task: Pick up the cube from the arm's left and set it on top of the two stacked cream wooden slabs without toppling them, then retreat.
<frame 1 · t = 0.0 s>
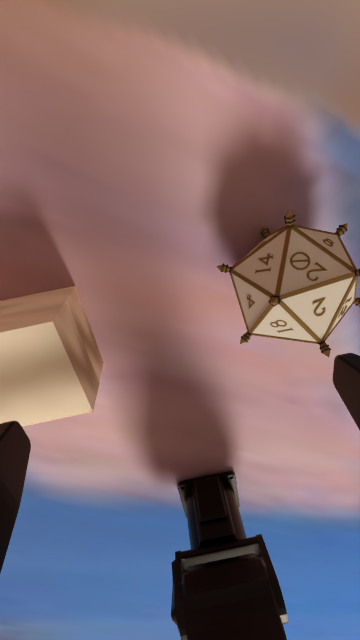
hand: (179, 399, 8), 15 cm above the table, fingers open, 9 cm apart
slab lower: (47, 333, 24), on the table, touching slab upper
game die: (268, 265, 23), on the table
slab upper: (35, 355, 21), point 3 cm above the table, touching slab lower
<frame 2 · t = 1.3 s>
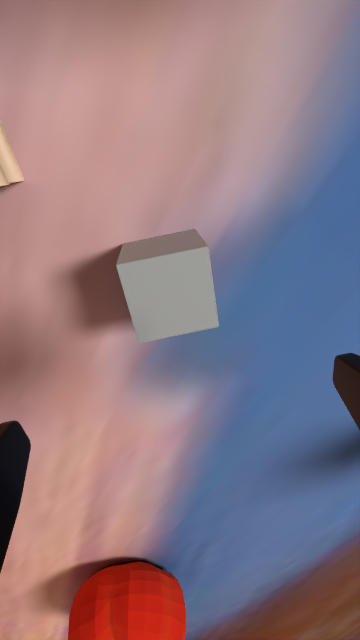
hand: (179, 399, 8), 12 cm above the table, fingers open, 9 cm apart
tomato: (130, 572, 37), on the table
cube: (166, 270, 19), on the table
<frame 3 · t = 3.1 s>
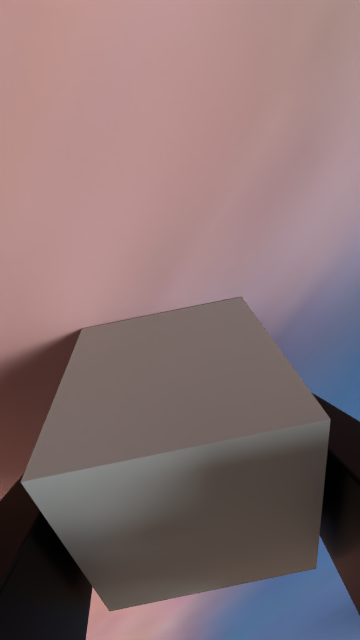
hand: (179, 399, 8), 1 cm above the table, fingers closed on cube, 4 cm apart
cube: (176, 376, 9), on the table, touching gripper
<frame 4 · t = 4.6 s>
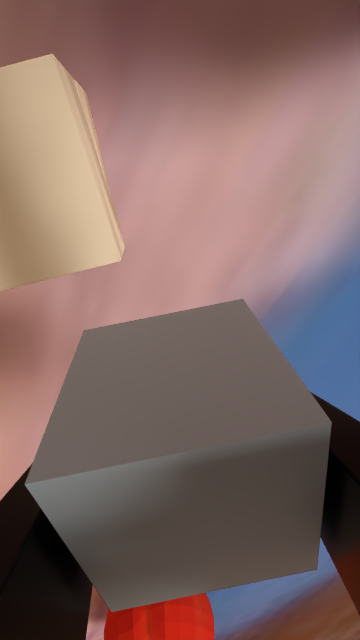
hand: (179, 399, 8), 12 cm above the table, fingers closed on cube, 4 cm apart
slab lower: (43, 182, 16), on the table, touching slab upper
tomato: (158, 582, 38), on the table
cube: (177, 377, 9), point 11 cm above the table, touching gripper
slab upper: (29, 189, 14), point 3 cm above the table, touching slab lower
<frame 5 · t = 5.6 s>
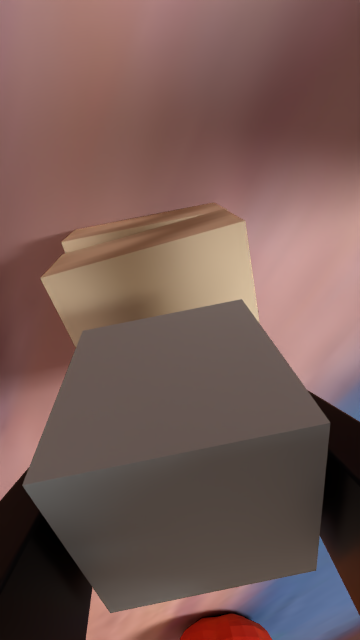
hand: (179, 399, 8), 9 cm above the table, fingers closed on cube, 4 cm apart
slab lower: (158, 279, 17), on the table, touching slab upper
tomato: (218, 621, 39), on the table
cube: (176, 377, 9), point 8 cm above the table, touching gripper
slab upper: (164, 304, 14), point 3 cm above the table, touching slab lower
when the fingers open (8 cm above the table, at t = 6.1 s): cube drops 2 cm, resting on slab upper.
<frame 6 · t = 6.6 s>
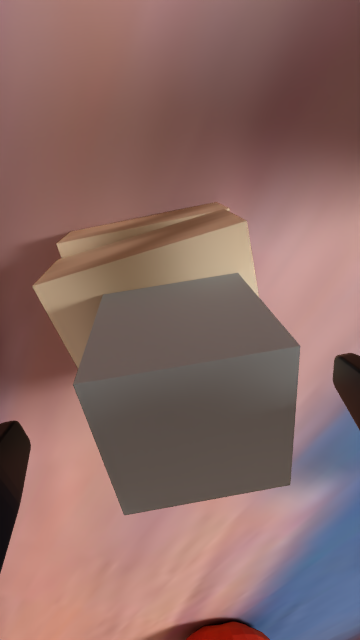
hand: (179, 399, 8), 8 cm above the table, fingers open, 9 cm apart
slab lower: (158, 281, 16), on the table, touching slab upper
tomato: (220, 629, 38), on the table
cube: (179, 340, 11), point 5 cm above the table, touching slab upper
slab upper: (164, 309, 14), point 2 cm above the table, touching cube, slab lower
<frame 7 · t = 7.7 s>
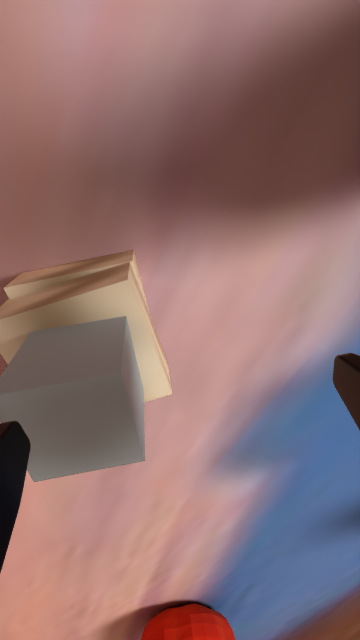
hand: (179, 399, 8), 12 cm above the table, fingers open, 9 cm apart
slab lower: (95, 309, 20), on the table, touching slab upper
tomato: (183, 611, 42), on the table
cube: (91, 362, 15), point 6 cm above the table, touching slab upper
slab upper: (94, 334, 18), point 3 cm above the table, touching cube, slab lower
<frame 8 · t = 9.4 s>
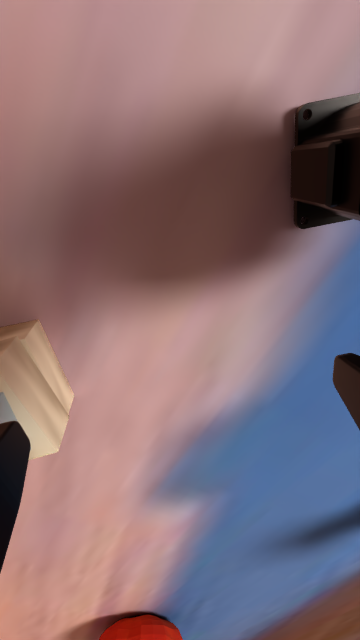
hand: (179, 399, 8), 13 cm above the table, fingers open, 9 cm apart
slab lower: (13, 366, 22), on the table, touching slab upper
tomato: (140, 621, 44), on the table
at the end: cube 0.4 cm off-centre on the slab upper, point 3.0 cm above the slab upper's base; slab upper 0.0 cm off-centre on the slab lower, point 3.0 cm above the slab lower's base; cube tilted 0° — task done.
